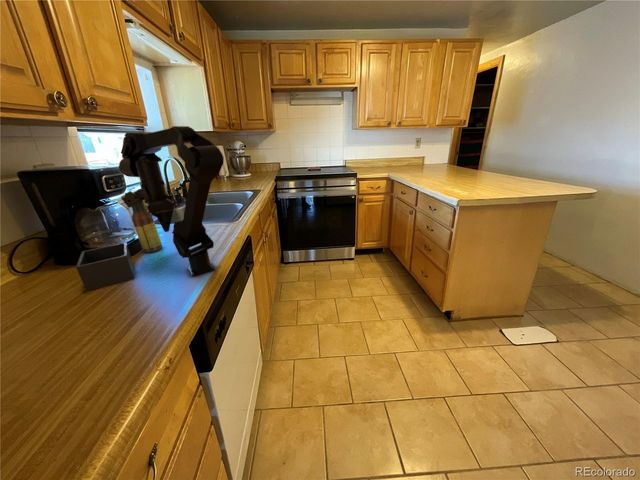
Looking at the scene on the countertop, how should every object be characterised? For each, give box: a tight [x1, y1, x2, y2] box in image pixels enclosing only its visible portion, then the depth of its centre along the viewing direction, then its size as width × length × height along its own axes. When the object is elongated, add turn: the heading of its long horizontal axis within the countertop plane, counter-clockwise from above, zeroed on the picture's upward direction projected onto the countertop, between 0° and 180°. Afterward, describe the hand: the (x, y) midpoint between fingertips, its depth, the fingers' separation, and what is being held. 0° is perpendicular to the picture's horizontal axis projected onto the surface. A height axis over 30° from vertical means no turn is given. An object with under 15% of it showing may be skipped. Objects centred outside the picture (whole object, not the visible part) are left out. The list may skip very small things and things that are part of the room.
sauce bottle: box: [131, 200, 163, 253], centre depth 95 cm, size 7×6×20 cm
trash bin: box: [75, 242, 135, 292], centre depth 79 cm, size 13×11×8 cm
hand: (164, 227), depth 84 cm, fingers open, 9 cm apart
